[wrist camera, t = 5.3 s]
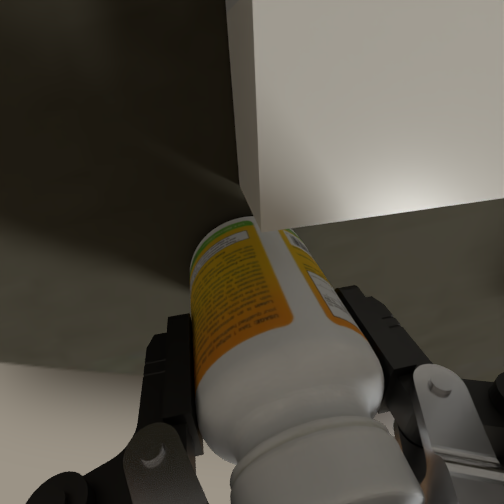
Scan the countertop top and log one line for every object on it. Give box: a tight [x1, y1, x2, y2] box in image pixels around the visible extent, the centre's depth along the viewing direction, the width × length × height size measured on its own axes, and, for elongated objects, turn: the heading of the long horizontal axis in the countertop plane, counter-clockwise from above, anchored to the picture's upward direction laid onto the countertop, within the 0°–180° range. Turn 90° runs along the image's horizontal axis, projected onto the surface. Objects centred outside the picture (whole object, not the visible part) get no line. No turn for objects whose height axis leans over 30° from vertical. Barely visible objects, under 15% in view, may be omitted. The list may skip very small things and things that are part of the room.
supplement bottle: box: [190, 216, 425, 504], centre depth 10 cm, size 5×5×10 cm
